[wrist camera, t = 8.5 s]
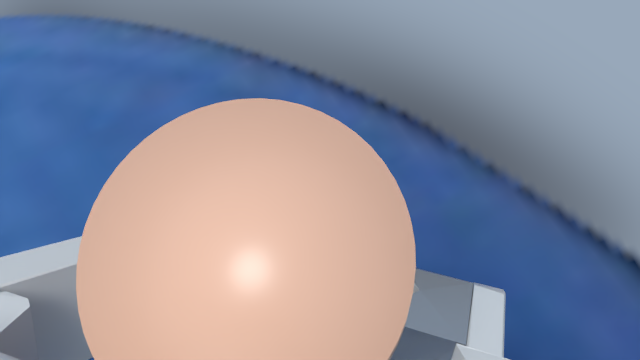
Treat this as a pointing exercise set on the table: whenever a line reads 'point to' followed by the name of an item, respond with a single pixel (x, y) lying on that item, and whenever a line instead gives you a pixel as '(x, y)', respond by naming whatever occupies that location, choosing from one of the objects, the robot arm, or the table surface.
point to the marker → (247, 242)
